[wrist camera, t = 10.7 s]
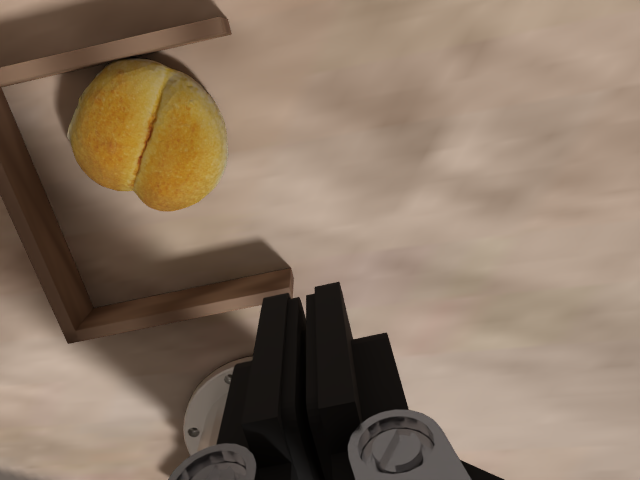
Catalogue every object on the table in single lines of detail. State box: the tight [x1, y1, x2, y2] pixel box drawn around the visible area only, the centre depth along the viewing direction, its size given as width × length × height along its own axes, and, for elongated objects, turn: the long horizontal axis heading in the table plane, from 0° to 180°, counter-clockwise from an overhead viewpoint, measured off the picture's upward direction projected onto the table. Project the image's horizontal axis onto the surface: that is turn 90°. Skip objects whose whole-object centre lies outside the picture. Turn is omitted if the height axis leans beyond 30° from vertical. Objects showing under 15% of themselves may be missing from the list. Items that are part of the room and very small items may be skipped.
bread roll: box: [67, 58, 228, 211], centre depth 30 cm, size 8×9×4 cm
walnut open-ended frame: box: [0, 17, 294, 344], centre depth 31 cm, size 15×17×3 cm
